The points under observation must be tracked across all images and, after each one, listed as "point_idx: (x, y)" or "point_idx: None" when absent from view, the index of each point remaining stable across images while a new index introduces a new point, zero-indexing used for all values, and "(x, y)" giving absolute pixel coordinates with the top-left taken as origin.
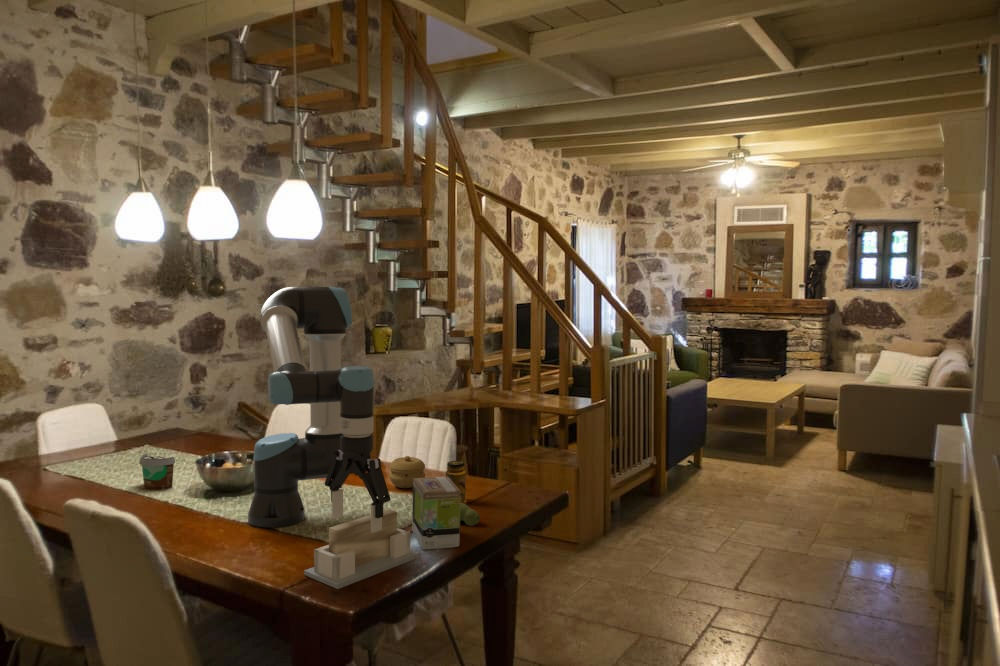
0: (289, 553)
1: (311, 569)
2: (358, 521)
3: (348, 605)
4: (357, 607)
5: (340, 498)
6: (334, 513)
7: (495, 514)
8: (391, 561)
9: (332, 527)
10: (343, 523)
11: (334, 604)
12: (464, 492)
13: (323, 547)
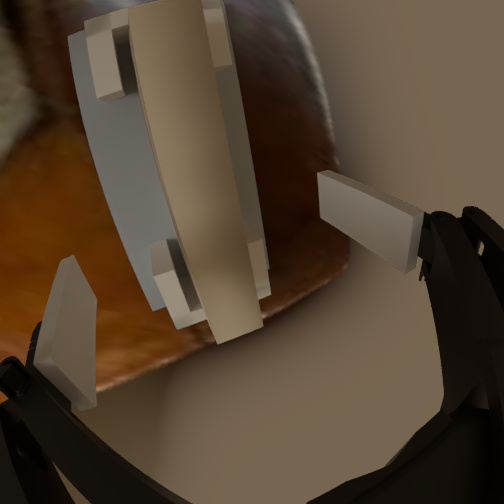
0: (14, 300)
1: (155, 296)
2: (213, 228)
3: (330, 265)
4: (345, 255)
5: (68, 332)
6: (94, 313)
7: None
8: (226, 93)
9: (222, 334)
10: (201, 293)
11: (313, 283)
12: None
13: (175, 307)
